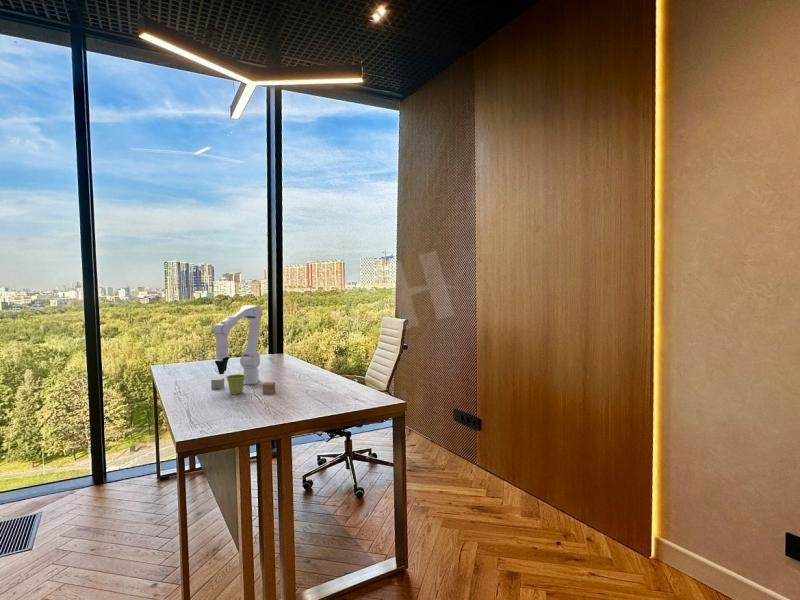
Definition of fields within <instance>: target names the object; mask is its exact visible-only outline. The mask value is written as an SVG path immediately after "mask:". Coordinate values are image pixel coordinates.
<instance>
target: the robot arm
mask: <svg viewBox="0 0 800 600" xmlns="http://www.w3.org/2000/svg"><path fill="white" fill-rule="evenodd" d="M262 315H263V309H262V308H261V306H260V305H259V304H257V305H254V304H253V305H250V304H243V305H242V306H241V307H240V310H238V311H237V312H236V313H235V314H234V315H228V316H226V318H225V319H224V320H222V321H220V323H216V324H214V326H213V329H212V332H213V334H214V337H215V353H216V354H214V355H213V357H214V358H216V359H217V360H214V363H215V365H216V368H217V370H218V374H219V375H224V374H225V372H226V371H227V367H228V362H229V359H230V357H229V346H228V345H229V343H228V342H229V340H228V338H229V337H228V336H229V335H230V331H231V330H232V329H233V328H234V327H236V326H237V324H238V321H240V320H242V319H243V318H245V319H246V320H247V321H249V323H250V324H249V331H248V335H247V336H248V337H247V342H246V343H247V344H246V349H245V350H244V351H243V352H242V353H241V357H240V359H239V364H240V366H241V368H242V369H243V375H245V379H244V383H243V385H257V384H258V383H259V382H260V381H261V379H260V378H259V375H260V374H259V372H260V371H259V368H258V367H259V366H260V365H261V364H260V363H261V358H260V357H261V354H260V353H259V352H258V351H257V348H258V340H259V335H260V334H259V333H260V327H261V320H262ZM228 334H229V335H228Z"/></svg>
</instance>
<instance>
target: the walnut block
mask: <svg viewBox="0 0 800 600" xmlns="http://www.w3.org/2000/svg"><path fill="white" fill-rule="evenodd" d="M273 392H274V393H275V392H276V382H275V381H271V382H270V381H265V382H264V383H262V394H263V393H273ZM274 393H273V394H274Z"/></svg>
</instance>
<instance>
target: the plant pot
mask: <svg viewBox="0 0 800 600" xmlns="http://www.w3.org/2000/svg"><path fill="white" fill-rule="evenodd" d="M225 378H226V379H227V384H228V389H229V394H231V395H238V394H239V393H240V394H243V390H244V384H243V383H244V379H245V375H244V374H241V373H240V374H239V373H237V374H231V375H227V376H226V377H225Z"/></svg>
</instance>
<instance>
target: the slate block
mask: <svg viewBox="0 0 800 600" xmlns="http://www.w3.org/2000/svg"><path fill="white" fill-rule="evenodd" d="M210 382H211V384H210V385H211V390H216V389H215V388H222V387H223V388H225V377H214V378H212V379H211V380H210ZM223 388H222V389H223Z"/></svg>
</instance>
